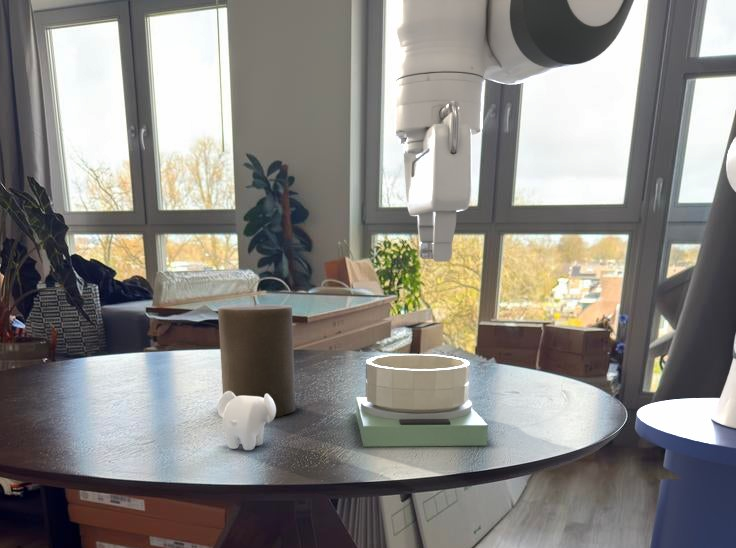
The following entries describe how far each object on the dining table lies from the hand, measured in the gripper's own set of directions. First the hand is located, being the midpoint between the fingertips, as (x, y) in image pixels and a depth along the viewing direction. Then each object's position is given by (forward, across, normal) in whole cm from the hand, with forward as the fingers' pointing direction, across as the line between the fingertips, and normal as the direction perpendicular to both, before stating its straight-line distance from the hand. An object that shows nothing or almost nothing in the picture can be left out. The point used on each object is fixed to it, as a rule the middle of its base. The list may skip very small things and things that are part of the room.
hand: (434, 260), depth 78 cm
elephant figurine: (+20, -3, +21) cm, 29 cm away
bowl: (+17, +5, +1) cm, 17 cm away
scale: (+20, +4, +1) cm, 20 cm away
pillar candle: (+20, +15, +21) cm, 33 cm away
